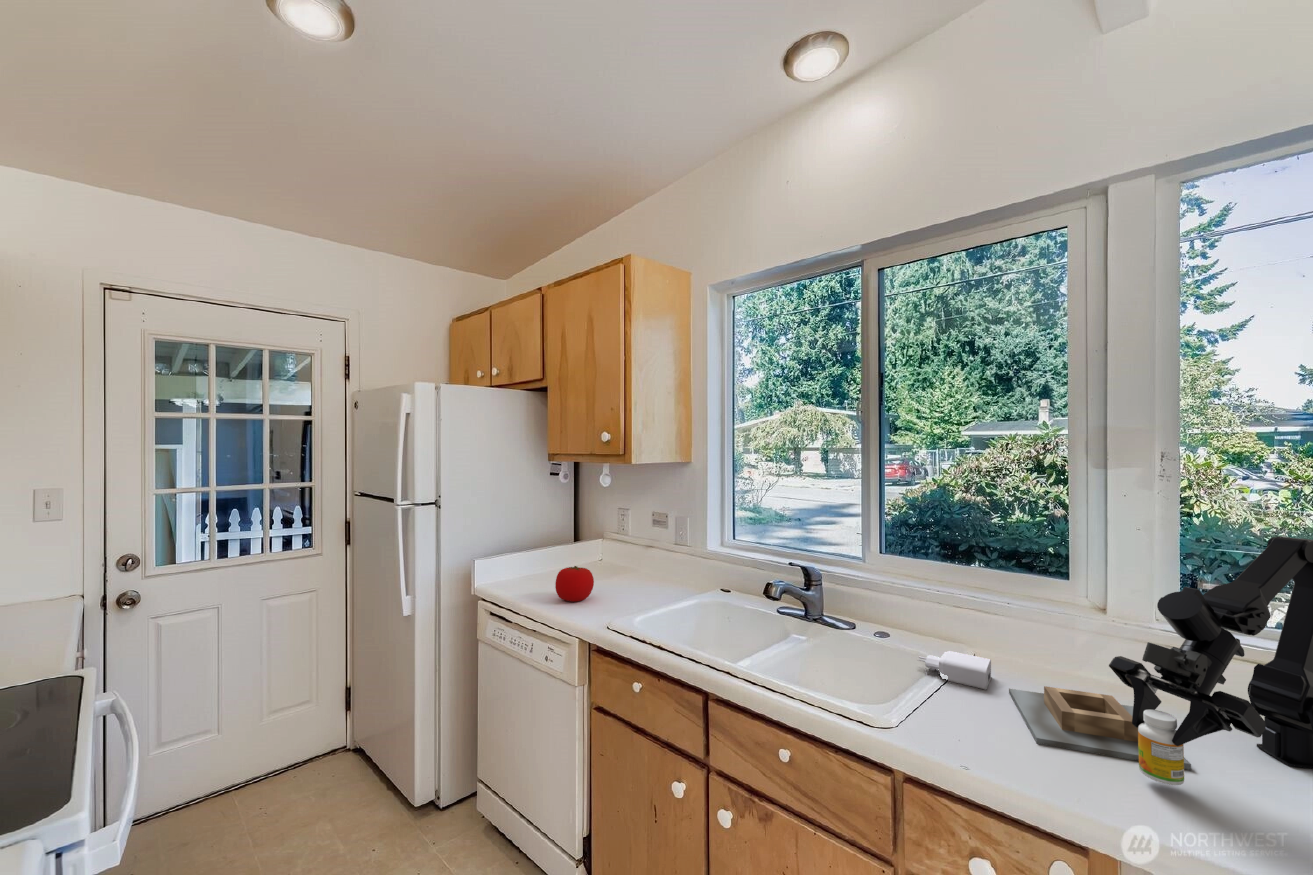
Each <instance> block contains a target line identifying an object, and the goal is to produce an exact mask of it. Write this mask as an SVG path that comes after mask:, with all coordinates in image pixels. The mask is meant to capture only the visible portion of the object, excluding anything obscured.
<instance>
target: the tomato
mask: <svg viewBox="0 0 1313 875" xmlns="http://www.w3.org/2000/svg"><path fill="white" fill-rule="evenodd" d="M578 566H579V565H574V566H569V567H568V566H567V567H565V568H562V569H560V570H559V572H558V573H557V575H556V577H555V584H554V585H555V586H554V587H555V588H554V589H555V591H556V594H557V596H558V598H560V599H561V600H562V601H567V602H571V603H572V602H573V603H574V602H580V601H581V602H582V601H584V600H586V599H587V598H588V597H589V596H590V595H591V594H592V592H593V588H594V584H595V580H594V576H593V572H591V570H590V569H589V568H586V567H578Z"/></svg>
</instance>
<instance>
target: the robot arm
mask: <svg viewBox="0 0 1313 875" xmlns="http://www.w3.org/2000/svg"><path fill="white" fill-rule="evenodd" d="M1291 580H1292V582H1293V588H1292V591H1291V594H1290V598H1289V602H1288V606H1287V610H1286V613H1285V617H1284V620H1283V624H1282V628H1281V631H1280V635H1279V639H1278V643H1277V646H1276V649H1275V654H1274V657H1273V659H1272V660H1271V661H1269V662H1267V663H1266V664H1262V663H1257V664H1256V665H1255V666H1254V667H1253V672H1252V677H1251V679H1250V681H1249V683H1248V684H1247V694H1248V698H1249V700H1247V699H1244V698H1242V697H1239V696H1235V695H1232V694H1231V693H1228V692H1224V691H1221V690H1218V691H1214V689H1215V687H1216V685H1217V684H1220V685H1224V684H1225V683H1226V681H1227V679H1226V678H1225V676H1224V673H1225V671H1226V670H1227V668H1228V666H1229V664H1230V663H1231V662H1232V659H1233V658H1234V656H1238V657H1241V658H1244V657H1245V656H1246V655H1245V650H1244V648H1243V647H1242V645H1241V640H1240V639H1239V638H1237V637H1235V636H1234V635H1233V634H1232V632H1235V633H1237V634H1238V633H1239V634H1243V635H1246V636H1247V635H1248V636H1256V635H1259V633H1261V632H1262V631H1263V630H1264V629H1266V626H1267V624H1268V621H1269V620H1270V619H1271V615H1272V614H1271V612H1270V609H1269V605H1270V603H1271V602H1272V600H1273V599H1274V598H1276V596H1277V595H1278V594H1279V593H1280V592H1281V591H1282V590H1283V589H1284V588H1285V586H1287V585H1288V583H1290V582H1291ZM1156 607H1157V610H1158V612H1159V613H1160V614H1161V616H1162V617H1163V618H1164V619H1165V620H1166V621H1167V622H1168V624H1169V625H1170V627H1171V628H1172V629H1173V631H1175V632H1176V634H1177V635H1178V636H1179V637H1180V638H1182V639H1184V641H1183V642H1182V644H1181V645H1180V647H1175V646H1172V647H1171V648H1168V647H1165V646H1161V645H1159V644H1157V643H1156V644H1155V643H1152V642H1150V641H1149V642H1146V643H1147V644H1146V647H1145V650H1144V653H1143V656H1142V662H1145V663H1150V664H1152V665H1153V666H1154V667H1153V669H1154V671H1155V672H1156V673H1157V674H1160V675H1161V676H1158V675H1155V674H1152V673H1150V671H1148V669H1147V667H1145V665H1144V664H1143V663H1142V662H1139V661H1136V660H1133V659H1130V658H1128V657H1124V656H1122V655H1120V656H1119V655H1118V656H1115V657H1113V658H1112V660H1111V661H1110V663H1109V664H1108V667H1109V668H1110V669H1111V670H1112V672H1114V674H1115V675H1116V677H1118V679H1120V681H1121V682H1122V683H1123V684H1124V685H1126V686H1127V687H1129V688H1131V689H1133V705H1132V706H1133V716H1132V724H1133V725H1134V726H1135V727H1136V728H1138V726H1139V725H1140V724H1141V723H1144V722H1145V721H1144V718H1143V712H1144V710H1157V709H1158V707H1159V706H1160V705H1161V704H1162V700H1161V699H1160V698H1159V697H1158V696H1157V691H1158V690H1160V691H1161V692H1165V693H1167V694H1169V695H1173V696H1175V697H1178V698H1180V699H1183V700H1185V701H1188V702H1190V703H1189V711H1188V713H1187V715H1186V716H1185V717H1184V719H1183V720H1182V722H1181V723H1180V725H1179V726H1178V727H1177V728H1176V730H1177V731H1176V733H1175V735H1174V737H1173V739H1172V742H1173V744H1174V745H1176V746H1180V745H1182V744H1183V745H1185V744H1186V743H1187V744H1188V743H1189V742H1192V741H1194V740H1196V739H1199V738H1202V737H1204V736H1207V735H1210V734H1213V733H1214V734H1215V733H1217V732H1220V731H1227V732H1232V731H1233V728H1234V730H1237V731H1239V732H1242V733H1244V734H1247V735H1249V736H1251V737H1256V738H1261V743H1256V748H1259V750H1261V751H1263V752H1265V753H1267V754H1268V755H1269V756H1272V757H1273V758H1275V759H1276V760H1278V761H1280V762H1282V763H1284V764H1285V765H1286V766H1288V767H1293V768H1306V769H1313V539H1309V538H1302V537H1301V538H1297V537H1288V536H1280V535H1278V536H1274V537H1273V536H1272V537H1270V538H1269V539H1268V541H1267V544H1266V547H1265V548H1264V550H1262V552H1261V553H1260V554H1259V555H1258V556H1257V557H1256V558H1255V559H1254V560H1253V561H1252V562H1251V563H1250V564H1249V565H1248V566H1247V567H1246V568H1245V569H1244V570H1243V571H1242V572H1241V573H1240V574H1239V575H1238V576H1237V577H1236V578H1235V579H1234V580H1233V581H1232V582H1228V583H1223V584H1219V585H1215V586H1214V587H1212V588H1211V589H1209V590H1208V591H1207V592H1205V593H1202V592H1201V591H1200V589H1197V588H1192V587H1188V586H1184V587H1183V588H1182V590H1179V591H1174V592H1170V593H1168V594H1166V595H1164V596H1162V597H1160V598H1159V599H1158V601H1157V606H1156ZM1230 631H1231V632H1230ZM1213 691H1214V692H1213ZM1212 692H1213V693H1212ZM1211 694H1212V695H1211ZM1231 725H1232V726H1231ZM1232 727H1233V728H1232Z"/></svg>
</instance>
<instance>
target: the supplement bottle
mask: <svg viewBox="0 0 1313 875" xmlns="http://www.w3.org/2000/svg"><path fill="white" fill-rule="evenodd" d="M1143 718H1144V721H1145V722H1144V723H1141V724H1140V725H1139V726H1138V749H1139V761H1138V768H1139V771H1140V772H1141V773H1142V775H1144V776H1145V777H1147V778H1149V779H1150V780H1153V781H1155V782H1158V783H1161V784H1165V785H1168V786H1170V785H1171V786H1181V785H1183V784H1184V782H1185V769H1184V758H1185V755H1184V753H1185V751H1184V745H1185V744H1182V745H1180V746H1176V745H1174V744H1173V742H1172V739H1173V737H1174V735H1175V733H1176V731H1177V729H1178V720H1177V717H1175V716H1174V715H1172V714H1170V713H1168V712H1166V711H1163V710H1157V709H1155V710H1144V712H1143Z"/></svg>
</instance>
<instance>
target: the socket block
mask: <svg viewBox="0 0 1313 875" xmlns="http://www.w3.org/2000/svg"><path fill="white" fill-rule="evenodd" d="M1008 694H1009V696H1010V698H1011V699H1012V701H1013V703H1014V706H1015V707H1016V709H1017V711H1018V712H1019V714H1020V715H1021V717H1022V720H1023V721H1024V723H1025V725H1026V727H1027V729H1028V730H1029V732H1030V734H1031V736H1032V738H1033V739H1034V741H1035V743H1036V744H1037V745H1038V744H1039V745H1045V746H1050V747H1055V748H1056V747H1057V748H1061V749H1066V750H1074V751H1078V752H1083V753H1084V752H1085V753H1090V754H1091V753H1092V754H1097V755H1100V756H1101V755H1103V756H1108V757H1113V758H1114V757H1115V758H1118V759H1125V760H1130V761H1136V762H1139V749H1138V728H1136V727H1135V726H1134V725H1133V724H1132V716H1133V705H1125V704H1121V703H1120V702H1119V701H1118V700H1117V699H1116V698H1115V697H1114V696H1113V695H1110V694H1102V693H1095V692H1089V691H1081V690H1073V689H1067V688H1060V687H1053V686H1045V685H1043V693H1042V692H1036V691H1029V690H1023V689H1015V688H1008ZM1184 770H1189V771H1191V770H1192V764H1191V763H1190V761H1189V760H1188V759H1187V758H1186V757H1184Z"/></svg>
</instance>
